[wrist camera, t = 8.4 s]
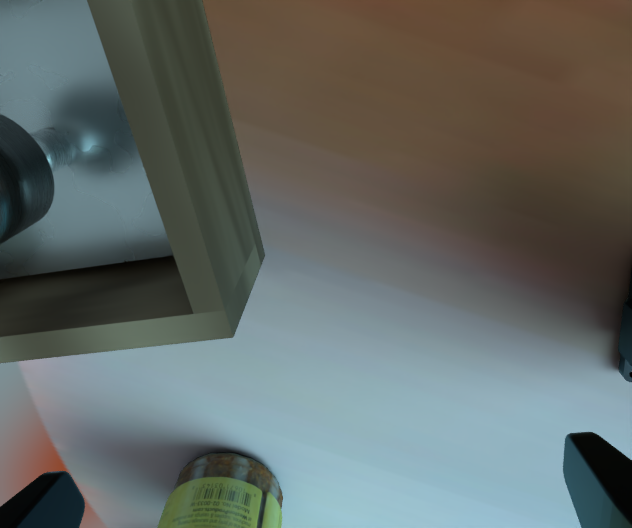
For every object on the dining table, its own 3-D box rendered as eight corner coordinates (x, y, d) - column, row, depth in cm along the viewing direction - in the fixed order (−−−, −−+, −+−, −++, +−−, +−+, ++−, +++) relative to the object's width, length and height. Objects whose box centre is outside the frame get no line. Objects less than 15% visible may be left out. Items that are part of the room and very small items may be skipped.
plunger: (139, -28, 14) (-14, -72, 8) (217, 241, 18) (152, 344, 12) (-115, 30, 16) (-408, 28, 10) (9, 270, 20) (-144, 377, 14)
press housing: (181, -84, 15) (84, -150, 9) (264, 255, 20) (232, 337, 15) (-140, -6, 16) (-379, -24, 11) (13, 288, 22) (-99, 374, 16)
